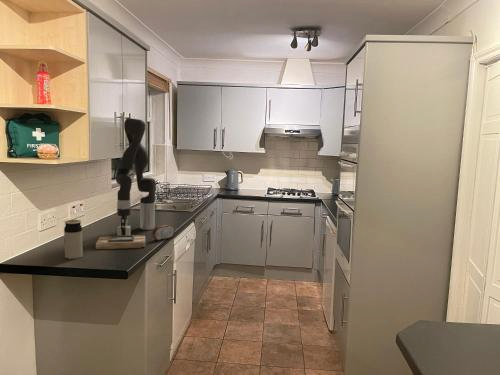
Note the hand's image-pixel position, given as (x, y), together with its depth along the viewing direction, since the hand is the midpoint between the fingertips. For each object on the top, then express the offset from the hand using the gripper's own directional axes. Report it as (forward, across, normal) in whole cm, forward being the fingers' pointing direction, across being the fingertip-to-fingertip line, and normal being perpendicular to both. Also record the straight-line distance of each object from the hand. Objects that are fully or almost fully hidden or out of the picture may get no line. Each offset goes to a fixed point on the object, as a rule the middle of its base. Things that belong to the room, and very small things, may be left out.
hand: (124, 234), depth 232 cm
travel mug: (+3, +35, -21) cm, 41 cm away
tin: (+3, +5, +23) cm, 24 cm away
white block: (+2, 0, 0) cm, 2 cm away
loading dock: (+2, +15, 0) cm, 15 cm away
